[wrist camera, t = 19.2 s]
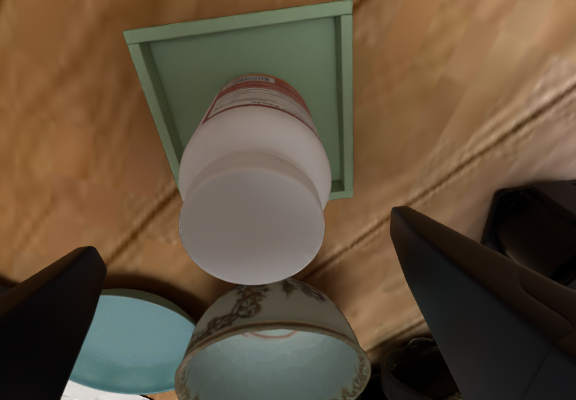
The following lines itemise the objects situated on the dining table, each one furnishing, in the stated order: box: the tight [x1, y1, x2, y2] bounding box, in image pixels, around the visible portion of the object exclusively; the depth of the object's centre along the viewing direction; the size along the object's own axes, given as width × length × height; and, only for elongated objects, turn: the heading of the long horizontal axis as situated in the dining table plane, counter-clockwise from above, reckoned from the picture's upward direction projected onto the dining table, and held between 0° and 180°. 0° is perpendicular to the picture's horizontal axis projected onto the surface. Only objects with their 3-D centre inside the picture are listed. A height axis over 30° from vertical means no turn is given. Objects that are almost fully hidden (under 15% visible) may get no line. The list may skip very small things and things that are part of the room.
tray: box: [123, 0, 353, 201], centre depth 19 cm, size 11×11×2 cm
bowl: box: [174, 277, 371, 400], centre depth 25 cm, size 14×13×8 cm
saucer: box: [69, 289, 197, 395], centre depth 28 cm, size 15×15×3 cm
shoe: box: [355, 338, 464, 400], centre depth 30 cm, size 11×24×10 cm
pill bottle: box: [179, 73, 331, 285], centre depth 15 cm, size 6×6×11 cm
